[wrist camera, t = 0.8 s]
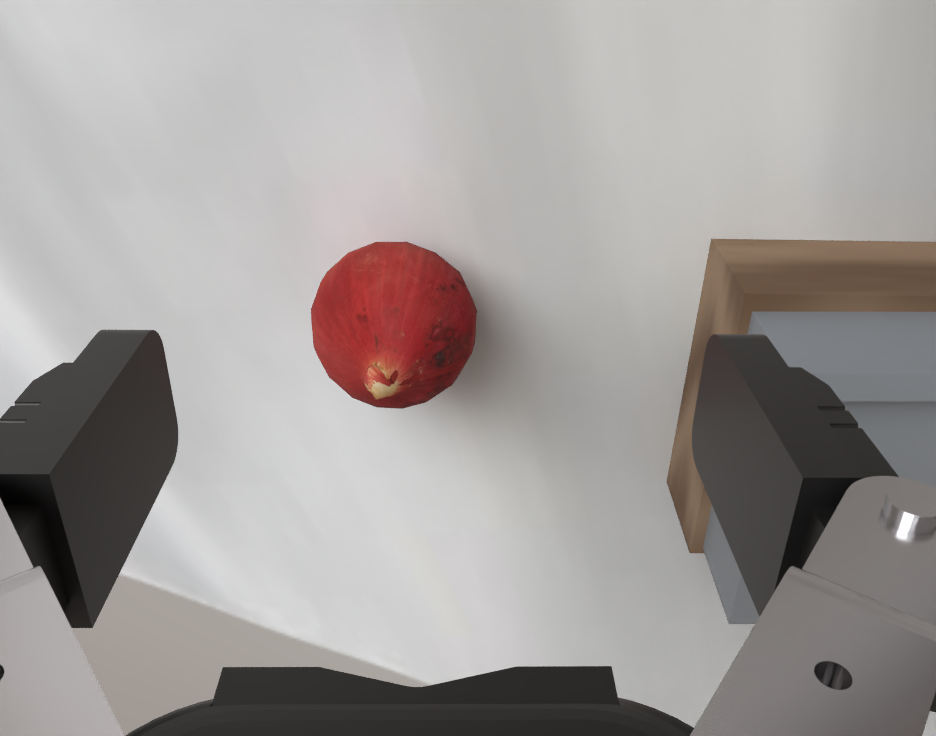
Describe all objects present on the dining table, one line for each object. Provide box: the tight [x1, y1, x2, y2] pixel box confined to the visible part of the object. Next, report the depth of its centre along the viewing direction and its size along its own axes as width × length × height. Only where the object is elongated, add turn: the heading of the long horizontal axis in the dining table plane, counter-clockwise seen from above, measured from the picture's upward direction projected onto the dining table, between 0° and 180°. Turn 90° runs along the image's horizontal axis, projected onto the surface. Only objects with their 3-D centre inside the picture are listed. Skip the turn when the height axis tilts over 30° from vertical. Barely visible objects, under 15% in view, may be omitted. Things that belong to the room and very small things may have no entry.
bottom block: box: [667, 239, 936, 553], centre depth 34 cm, size 12×12×5 cm
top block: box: [703, 312, 936, 624], centre depth 30 cm, size 11×11×4 cm
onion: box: [311, 242, 477, 408], centre depth 30 cm, size 6×6×8 cm
